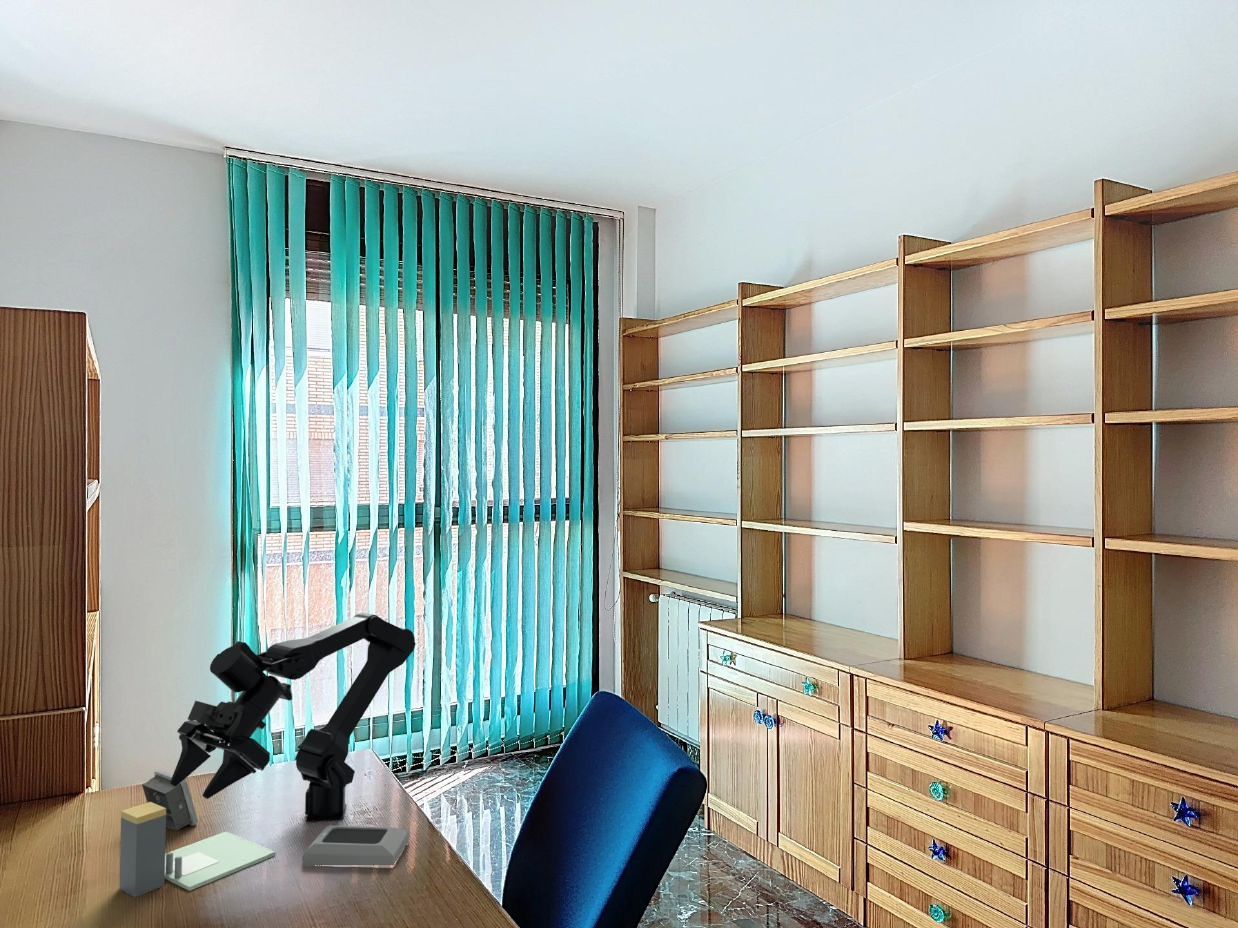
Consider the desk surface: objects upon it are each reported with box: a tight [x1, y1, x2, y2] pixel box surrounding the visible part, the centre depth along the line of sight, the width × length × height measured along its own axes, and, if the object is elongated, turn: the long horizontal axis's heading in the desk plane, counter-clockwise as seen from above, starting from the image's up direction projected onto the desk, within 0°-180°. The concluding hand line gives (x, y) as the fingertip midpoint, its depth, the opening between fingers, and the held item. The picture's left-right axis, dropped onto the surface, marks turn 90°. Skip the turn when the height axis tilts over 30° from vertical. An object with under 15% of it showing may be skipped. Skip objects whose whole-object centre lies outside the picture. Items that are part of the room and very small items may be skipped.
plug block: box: [119, 802, 167, 898], centre depth 134 cm, size 4×4×12 cm
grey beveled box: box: [301, 825, 410, 867], centre depth 147 cm, size 10×4×15 cm
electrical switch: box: [141, 769, 199, 832], centre depth 158 cm, size 9×5×9 cm, turn 57°
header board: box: [165, 831, 276, 891], centre depth 144 cm, size 15×14×4 cm
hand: (188, 790), depth 140 cm, fingers open, 9 cm apart
